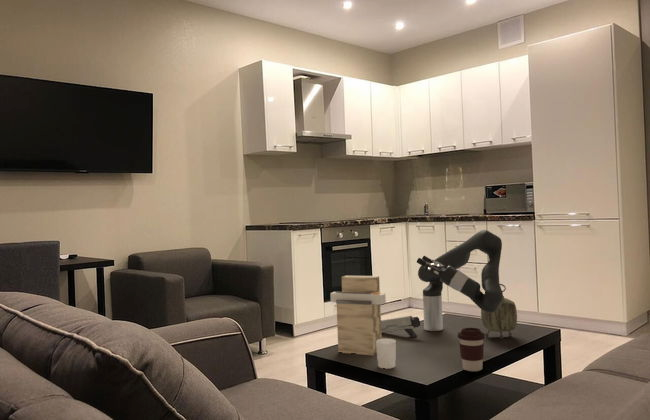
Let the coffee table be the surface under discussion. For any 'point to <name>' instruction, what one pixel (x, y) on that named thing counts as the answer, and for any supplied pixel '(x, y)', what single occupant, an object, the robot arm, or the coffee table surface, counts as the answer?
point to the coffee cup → (471, 348)
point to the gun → (401, 325)
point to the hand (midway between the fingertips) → (420, 258)
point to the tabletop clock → (501, 317)
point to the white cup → (386, 353)
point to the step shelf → (358, 317)
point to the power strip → (359, 297)
